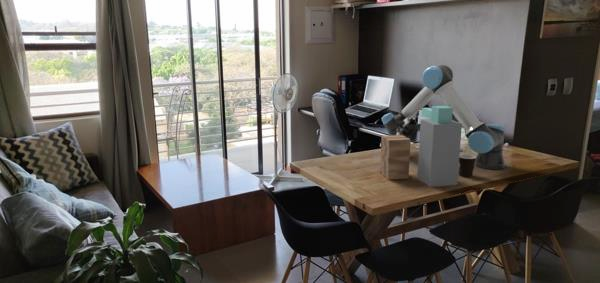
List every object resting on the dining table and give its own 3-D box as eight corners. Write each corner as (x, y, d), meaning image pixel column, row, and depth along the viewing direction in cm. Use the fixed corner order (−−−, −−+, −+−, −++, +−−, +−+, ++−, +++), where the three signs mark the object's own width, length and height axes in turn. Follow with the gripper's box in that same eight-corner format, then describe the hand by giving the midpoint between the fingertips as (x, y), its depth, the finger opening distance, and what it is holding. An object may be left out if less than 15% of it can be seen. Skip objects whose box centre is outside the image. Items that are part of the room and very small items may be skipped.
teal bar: (418, 115, 229) (419, 102, 227) (431, 115, 230) (432, 101, 228) (437, 123, 209) (438, 108, 207) (451, 122, 210) (452, 107, 208)
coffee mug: (472, 178, 223) (474, 159, 221) (454, 176, 228) (456, 157, 226) (477, 173, 233) (478, 154, 231) (460, 170, 237) (461, 152, 235)
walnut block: (380, 173, 234) (381, 135, 229) (400, 171, 236) (401, 134, 231) (387, 179, 223) (389, 140, 219) (408, 178, 225) (410, 139, 221)
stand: (417, 178, 225) (420, 119, 219) (443, 176, 228) (447, 118, 221) (429, 186, 212) (433, 124, 205) (457, 185, 214) (461, 123, 207)
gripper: (426, 137, 257) (443, 125, 237) (385, 139, 253) (398, 127, 233) (424, 125, 259) (440, 112, 239) (383, 127, 255) (396, 113, 235)
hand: (419, 119), depth 236 cm, fingers open, 13 cm apart
